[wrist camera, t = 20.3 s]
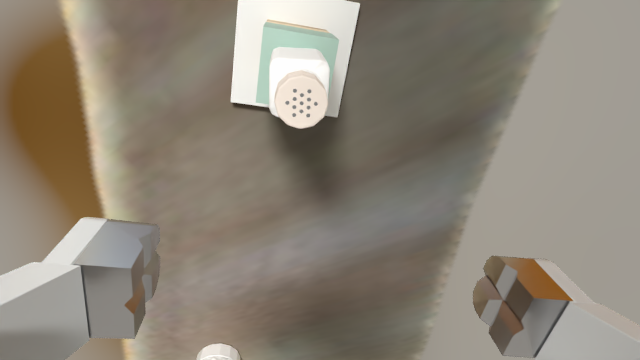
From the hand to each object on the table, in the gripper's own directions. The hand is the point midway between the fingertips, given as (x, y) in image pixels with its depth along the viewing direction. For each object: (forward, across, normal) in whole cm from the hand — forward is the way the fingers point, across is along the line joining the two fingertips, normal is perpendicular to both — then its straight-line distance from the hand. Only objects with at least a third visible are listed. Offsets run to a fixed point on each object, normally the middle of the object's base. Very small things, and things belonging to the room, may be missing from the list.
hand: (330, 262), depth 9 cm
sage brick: (+29, 0, 0) cm, 29 cm away
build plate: (+35, 0, 0) cm, 35 cm away
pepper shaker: (+24, 0, 0) cm, 24 cm away
